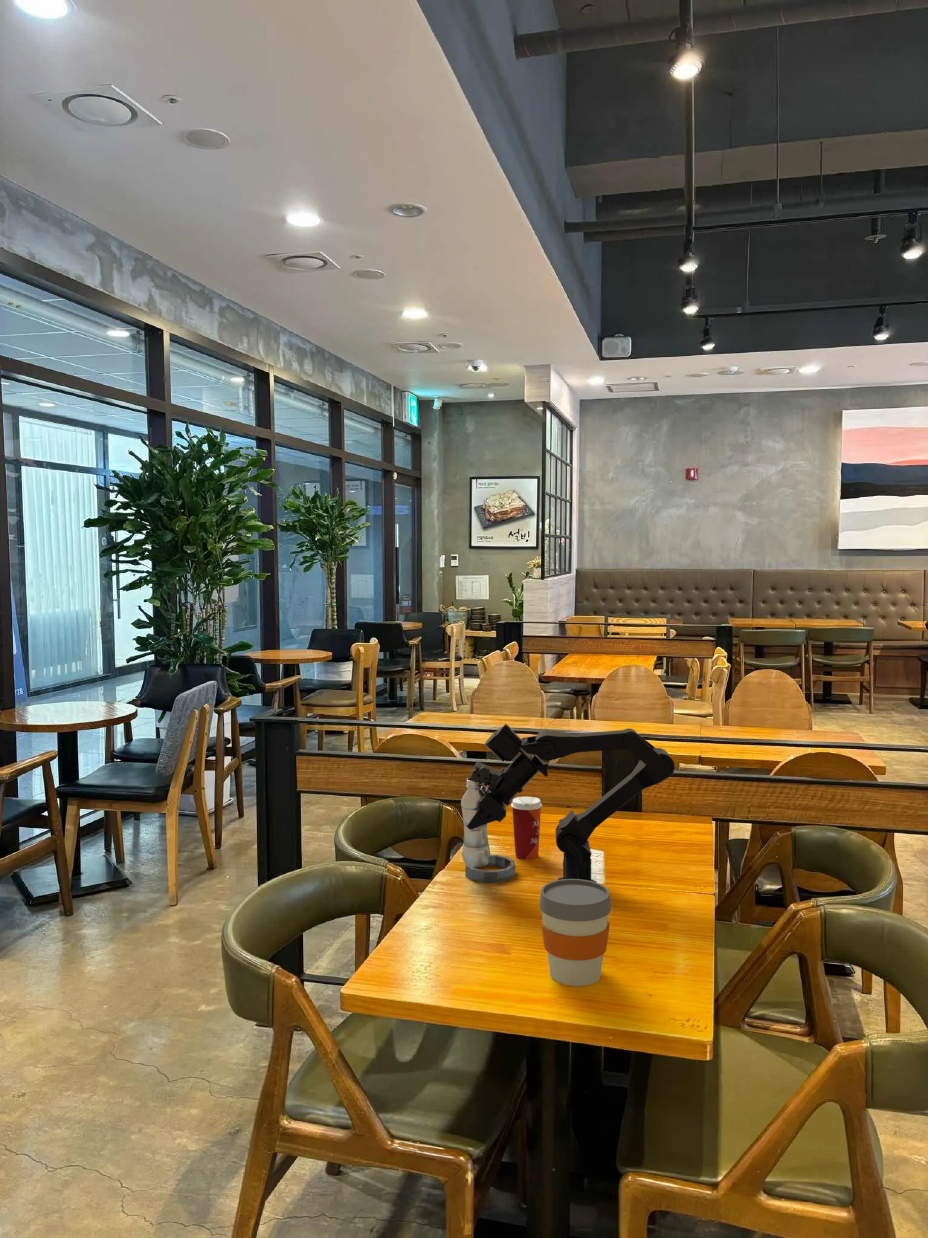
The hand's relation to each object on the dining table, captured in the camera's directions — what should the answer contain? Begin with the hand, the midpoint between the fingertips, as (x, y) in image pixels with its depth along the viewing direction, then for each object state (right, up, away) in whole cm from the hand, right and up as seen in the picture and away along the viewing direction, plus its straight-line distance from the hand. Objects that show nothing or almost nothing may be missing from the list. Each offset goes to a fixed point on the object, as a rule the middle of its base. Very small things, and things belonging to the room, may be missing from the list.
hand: (469, 823), depth 200 cm
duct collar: (+5, -13, +5) cm, 15 cm away
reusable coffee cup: (+18, -17, -44) cm, 50 cm away
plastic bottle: (+2, -10, +1) cm, 10 cm away
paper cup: (+14, -12, +17) cm, 26 cm away
